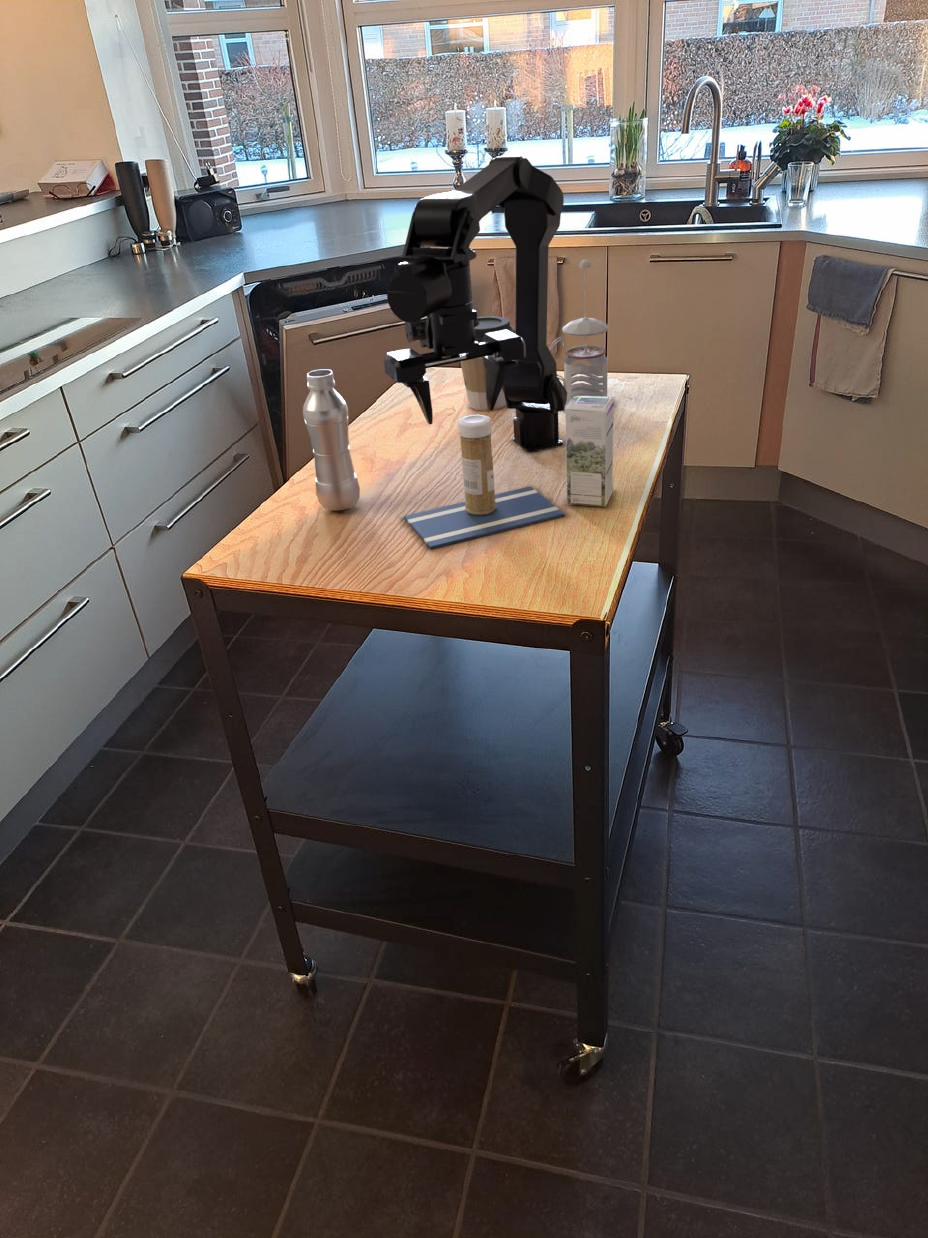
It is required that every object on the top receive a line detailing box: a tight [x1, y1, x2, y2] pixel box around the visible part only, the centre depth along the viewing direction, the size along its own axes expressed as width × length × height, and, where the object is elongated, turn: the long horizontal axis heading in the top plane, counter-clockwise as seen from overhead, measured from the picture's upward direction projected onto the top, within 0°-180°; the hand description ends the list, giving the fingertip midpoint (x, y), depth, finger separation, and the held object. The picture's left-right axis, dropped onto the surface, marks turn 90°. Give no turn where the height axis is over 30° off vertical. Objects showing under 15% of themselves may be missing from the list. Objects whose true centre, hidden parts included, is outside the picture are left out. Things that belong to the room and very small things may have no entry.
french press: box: [548, 259, 610, 412], centre depth 161 cm, size 10×12×25 cm
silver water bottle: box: [302, 368, 361, 511], centre depth 132 cm, size 6×7×20 cm
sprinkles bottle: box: [457, 414, 496, 515], centre depth 128 cm, size 5×5×13 cm
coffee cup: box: [459, 315, 515, 412], centre depth 168 cm, size 11×11×15 cm
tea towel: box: [403, 485, 565, 550], centre depth 130 cm, size 20×11×1 cm, turn 112°
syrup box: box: [564, 396, 615, 508], centre depth 129 cm, size 6×6×14 cm
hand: (460, 416), depth 129 cm, fingers open, 9 cm apart
